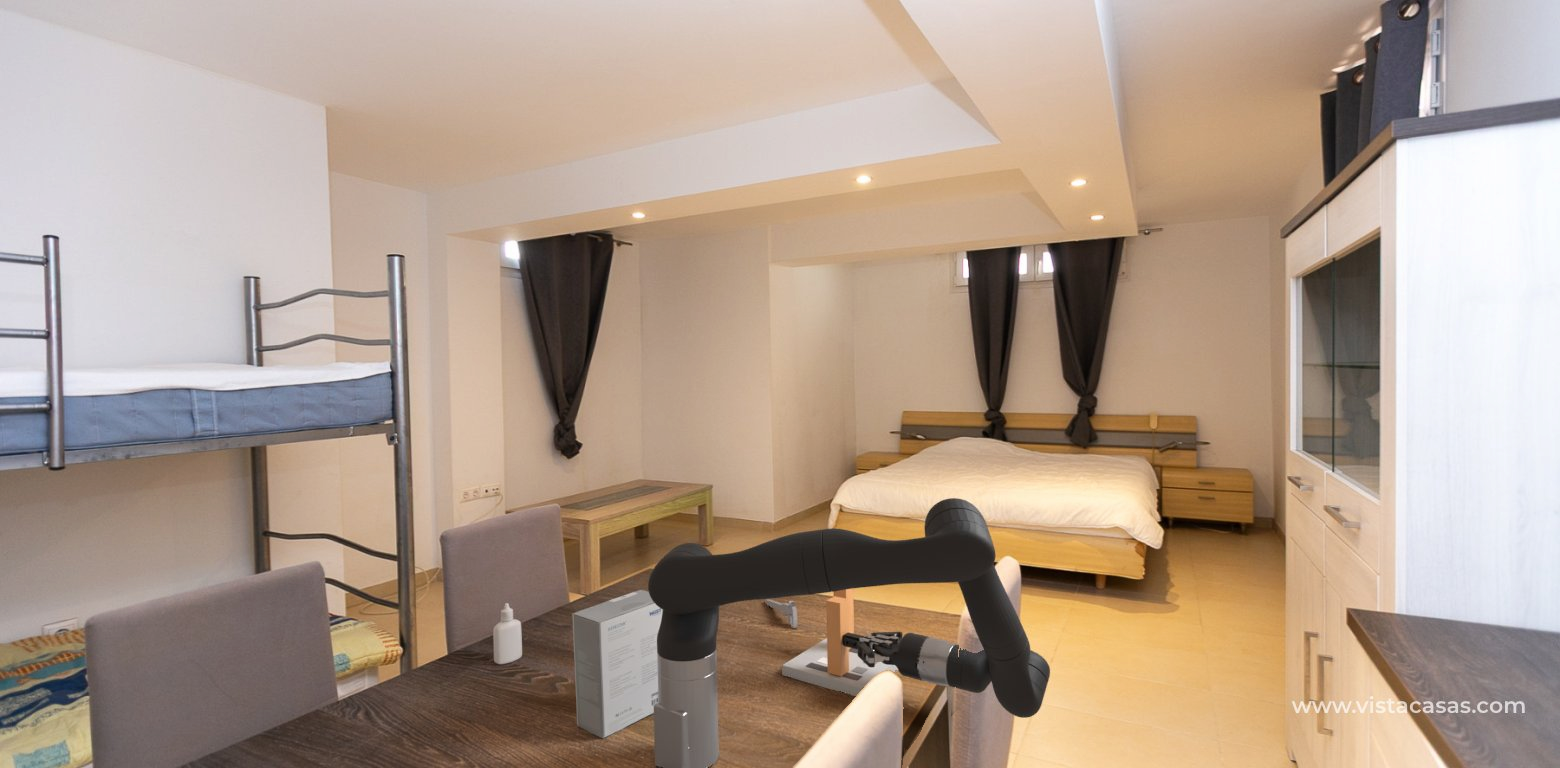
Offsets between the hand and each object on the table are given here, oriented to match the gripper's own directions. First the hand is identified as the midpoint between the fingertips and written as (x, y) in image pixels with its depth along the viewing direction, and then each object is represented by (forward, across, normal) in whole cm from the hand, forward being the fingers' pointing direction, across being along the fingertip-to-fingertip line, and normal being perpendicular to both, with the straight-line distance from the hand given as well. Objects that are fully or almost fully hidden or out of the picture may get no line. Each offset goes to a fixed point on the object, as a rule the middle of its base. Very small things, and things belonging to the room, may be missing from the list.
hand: (844, 638), depth 137 cm
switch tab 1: (+7, -11, +7) cm, 15 cm away
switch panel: (+4, -6, +9) cm, 11 cm away
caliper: (+33, -24, +10) cm, 42 cm away
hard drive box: (+26, +32, +9) cm, 42 cm away
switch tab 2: (+2, 0, +7) cm, 7 cm away
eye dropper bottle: (+66, +28, +9) cm, 72 cm away
